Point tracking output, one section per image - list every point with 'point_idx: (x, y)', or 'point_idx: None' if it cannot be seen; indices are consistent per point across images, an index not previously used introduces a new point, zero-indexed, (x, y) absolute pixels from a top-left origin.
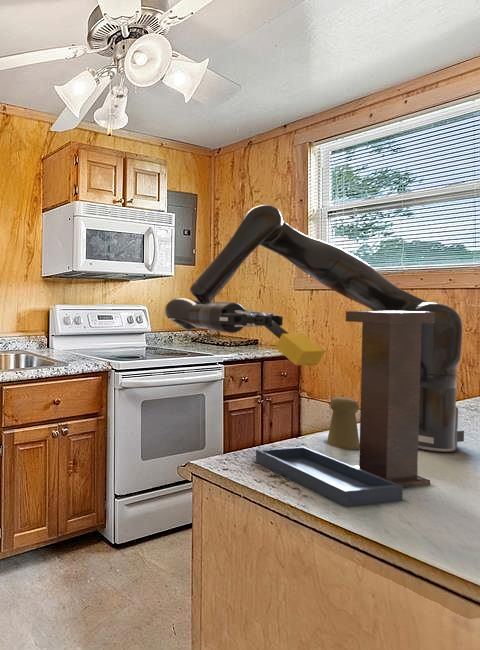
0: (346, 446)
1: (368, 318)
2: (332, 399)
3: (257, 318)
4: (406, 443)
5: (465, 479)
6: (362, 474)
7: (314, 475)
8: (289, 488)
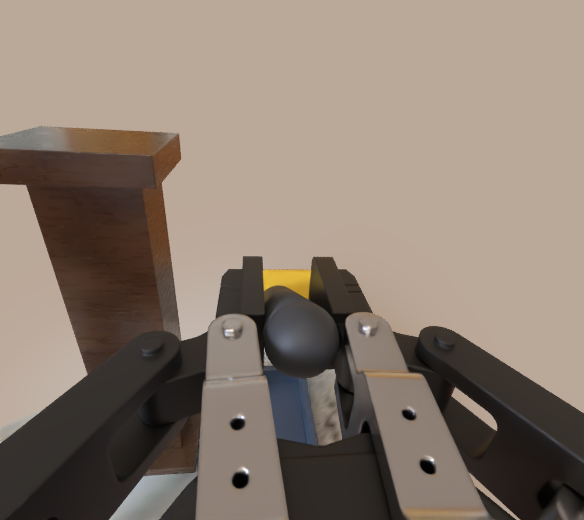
0: None
1: (170, 159)
2: None
3: (364, 305)
4: None
5: (27, 421)
6: None
7: (306, 405)
8: (339, 425)
